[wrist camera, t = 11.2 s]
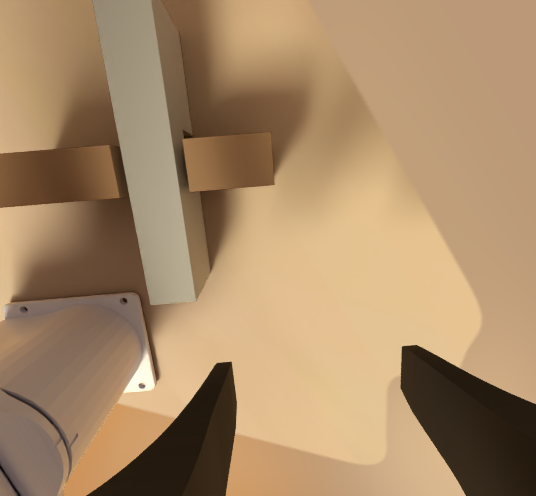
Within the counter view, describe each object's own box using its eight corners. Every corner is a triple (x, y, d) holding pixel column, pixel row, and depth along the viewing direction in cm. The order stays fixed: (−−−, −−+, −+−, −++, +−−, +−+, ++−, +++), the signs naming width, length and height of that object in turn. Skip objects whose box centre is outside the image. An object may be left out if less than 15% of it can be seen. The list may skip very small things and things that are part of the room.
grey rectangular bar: (210, 272, 21) (195, 301, 16) (175, 275, 21) (150, 305, 16) (179, 32, 17) (147, -26, 12) (136, 35, 17) (88, -22, 12)
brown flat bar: (60, 200, 19) (-7, 208, 14) (51, 161, 18) (-23, 155, 14) (270, 183, 19) (274, 184, 14) (267, 143, 19) (270, 132, 14)
